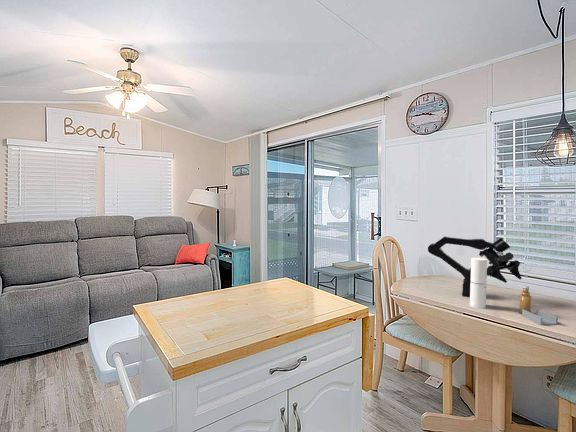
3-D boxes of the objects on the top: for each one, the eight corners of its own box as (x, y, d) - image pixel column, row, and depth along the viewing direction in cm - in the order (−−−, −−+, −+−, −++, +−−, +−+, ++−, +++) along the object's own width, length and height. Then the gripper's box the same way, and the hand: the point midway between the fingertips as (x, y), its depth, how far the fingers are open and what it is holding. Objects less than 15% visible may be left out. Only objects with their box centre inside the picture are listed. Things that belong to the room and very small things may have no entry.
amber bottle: (520, 314, 158) (521, 286, 157) (518, 311, 162) (519, 284, 161) (531, 315, 156) (532, 288, 155) (529, 313, 160) (530, 285, 159)
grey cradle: (522, 316, 156) (522, 309, 155) (537, 315, 156) (538, 309, 156) (540, 324, 145) (540, 317, 144) (557, 324, 145) (557, 317, 145)
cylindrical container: (466, 304, 173) (468, 257, 172) (479, 303, 174) (480, 257, 173) (475, 308, 166) (477, 260, 165) (488, 308, 167) (490, 260, 166)
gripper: (486, 251, 173) (506, 275, 162) (514, 245, 177) (537, 268, 166) (476, 264, 181) (496, 287, 170) (504, 258, 185) (525, 280, 174)
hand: (513, 280), depth 170 cm, fingers open, 9 cm apart
